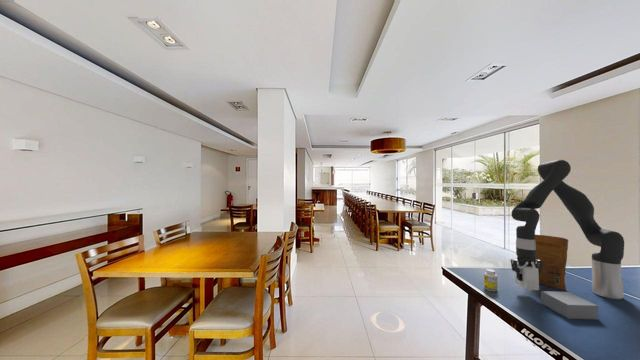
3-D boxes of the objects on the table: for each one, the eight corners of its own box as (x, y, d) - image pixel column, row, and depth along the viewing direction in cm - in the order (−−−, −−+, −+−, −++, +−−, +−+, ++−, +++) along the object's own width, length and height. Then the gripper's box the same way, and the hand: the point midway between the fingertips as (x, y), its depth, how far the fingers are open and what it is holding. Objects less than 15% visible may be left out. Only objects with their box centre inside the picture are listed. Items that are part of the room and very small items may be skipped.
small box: (539, 290, 108) (539, 269, 108) (526, 289, 109) (525, 268, 109) (527, 283, 116) (527, 263, 116) (515, 282, 117) (514, 262, 117)
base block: (567, 304, 105) (567, 291, 105) (598, 320, 93) (598, 305, 93) (541, 303, 106) (541, 291, 106) (568, 319, 94) (568, 304, 94)
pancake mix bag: (566, 293, 116) (566, 239, 116) (520, 279, 133) (520, 231, 133) (571, 290, 119) (570, 237, 119) (526, 276, 136) (525, 230, 136)
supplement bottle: (484, 286, 123) (484, 267, 123) (497, 289, 120) (497, 270, 120) (484, 289, 119) (483, 270, 119) (497, 292, 115) (497, 273, 116)
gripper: (533, 245, 116) (534, 277, 116) (505, 245, 117) (506, 277, 117) (547, 249, 109) (548, 284, 108) (517, 249, 109) (518, 283, 109)
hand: (526, 280), depth 113 cm, fingers closed on small box, 6 cm apart
